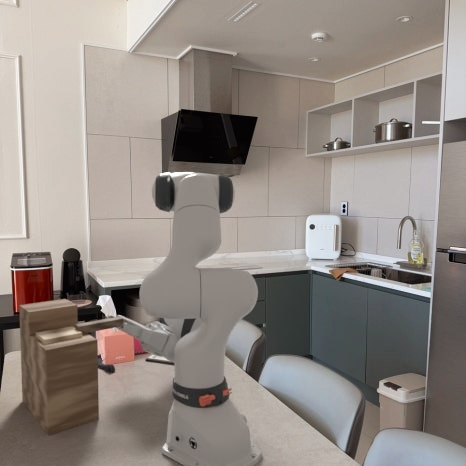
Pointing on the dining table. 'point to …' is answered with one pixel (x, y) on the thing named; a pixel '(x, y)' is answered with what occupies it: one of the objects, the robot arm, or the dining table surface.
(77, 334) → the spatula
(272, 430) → the dining table surface
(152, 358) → the chocolate bar
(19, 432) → the dining table surface
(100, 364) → the dark grey t-shaped piece
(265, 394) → the dining table surface
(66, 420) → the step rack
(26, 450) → the dining table surface
